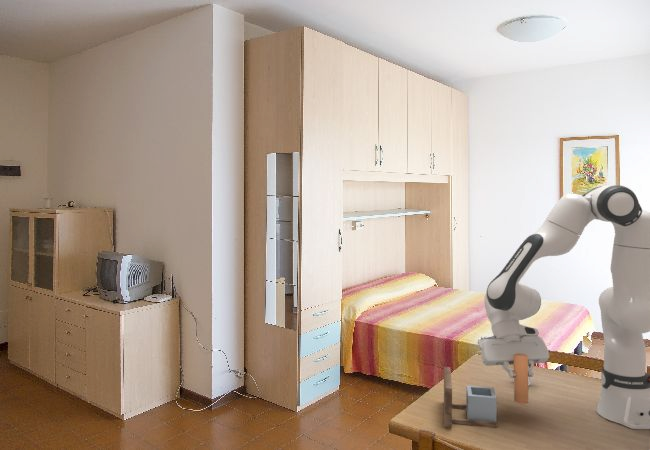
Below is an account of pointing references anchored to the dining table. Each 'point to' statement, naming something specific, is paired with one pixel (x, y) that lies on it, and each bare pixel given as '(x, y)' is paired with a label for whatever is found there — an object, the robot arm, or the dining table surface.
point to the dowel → (521, 378)
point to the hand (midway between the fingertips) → (521, 376)
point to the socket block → (481, 403)
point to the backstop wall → (456, 406)
